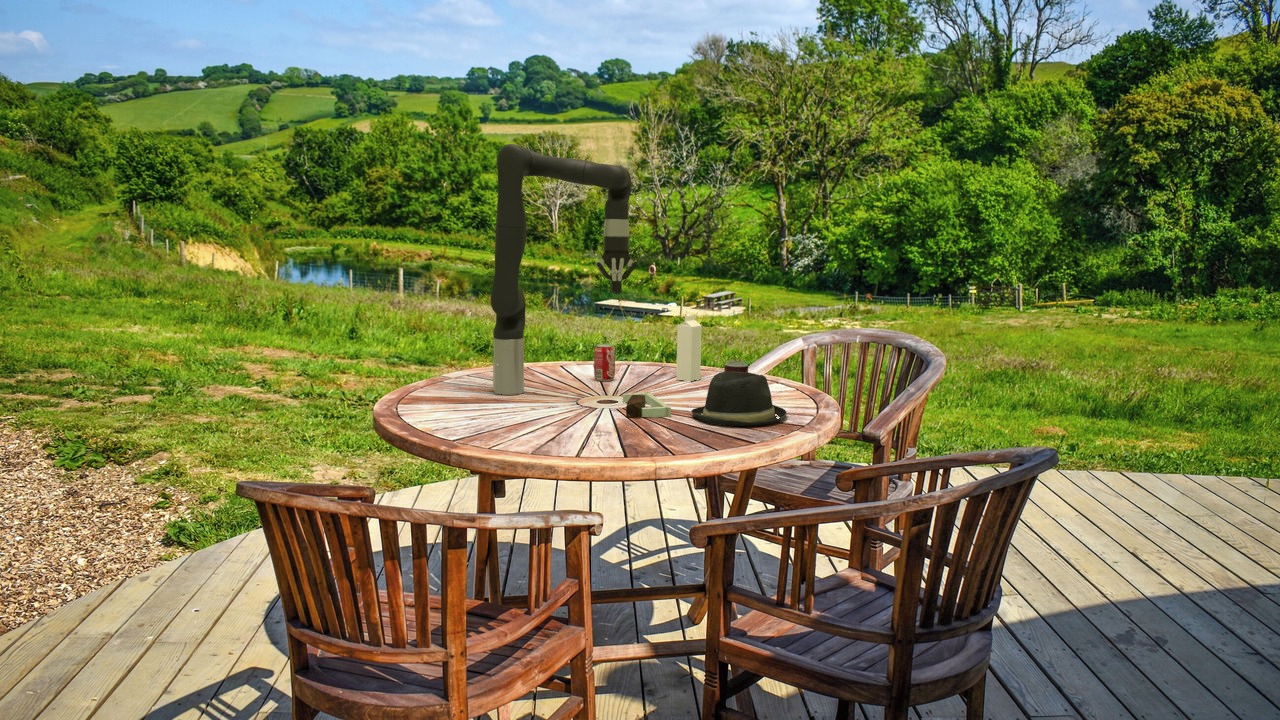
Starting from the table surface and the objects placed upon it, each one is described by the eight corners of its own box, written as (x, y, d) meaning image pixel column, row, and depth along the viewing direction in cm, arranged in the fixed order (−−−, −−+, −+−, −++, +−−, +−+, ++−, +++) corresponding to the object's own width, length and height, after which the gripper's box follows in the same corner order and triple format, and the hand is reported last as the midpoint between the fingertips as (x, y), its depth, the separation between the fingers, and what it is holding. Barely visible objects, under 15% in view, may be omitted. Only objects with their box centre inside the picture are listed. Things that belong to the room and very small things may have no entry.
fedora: (805, 418, 239) (807, 374, 237) (740, 434, 221) (742, 386, 219) (737, 404, 257) (738, 362, 255) (673, 417, 239) (674, 373, 237)
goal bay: (642, 417, 236) (642, 409, 236) (622, 402, 256) (622, 393, 256) (670, 416, 238) (671, 407, 238) (649, 400, 258) (649, 392, 258)
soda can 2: (725, 404, 254) (726, 364, 252) (721, 399, 261) (723, 360, 259) (748, 405, 255) (750, 364, 253) (744, 400, 262) (746, 360, 260)
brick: (631, 410, 247) (631, 394, 246) (645, 410, 246) (645, 394, 245) (625, 418, 236) (625, 401, 235) (639, 419, 236) (640, 402, 235)
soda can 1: (616, 378, 294) (616, 343, 292) (613, 382, 287) (613, 347, 285) (595, 377, 294) (595, 343, 292) (592, 381, 287) (592, 346, 285)
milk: (676, 380, 292) (676, 316, 288) (686, 378, 297) (686, 314, 293) (691, 382, 288) (692, 317, 285) (700, 380, 293) (702, 315, 289)
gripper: (634, 234, 258) (633, 292, 261) (591, 234, 255) (591, 292, 257) (641, 235, 251) (640, 294, 254) (597, 235, 248) (597, 295, 250)
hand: (615, 293), depth 256 cm, fingers closed
